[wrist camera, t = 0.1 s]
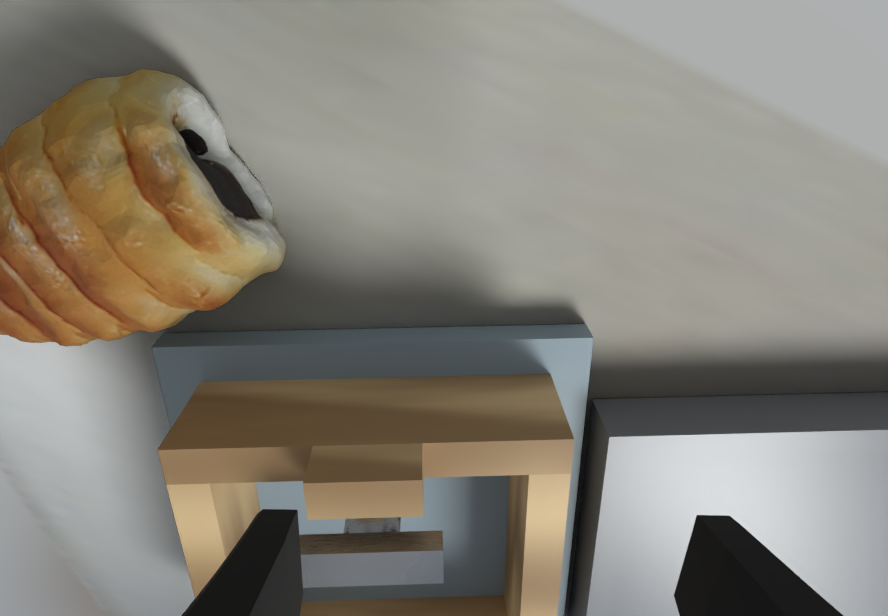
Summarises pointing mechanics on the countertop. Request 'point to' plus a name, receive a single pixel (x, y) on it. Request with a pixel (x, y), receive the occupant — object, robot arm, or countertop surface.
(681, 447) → the tray
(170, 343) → the stake base
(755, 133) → the countertop surface
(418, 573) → the stake post
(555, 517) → the wooden frame
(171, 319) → the pastry
